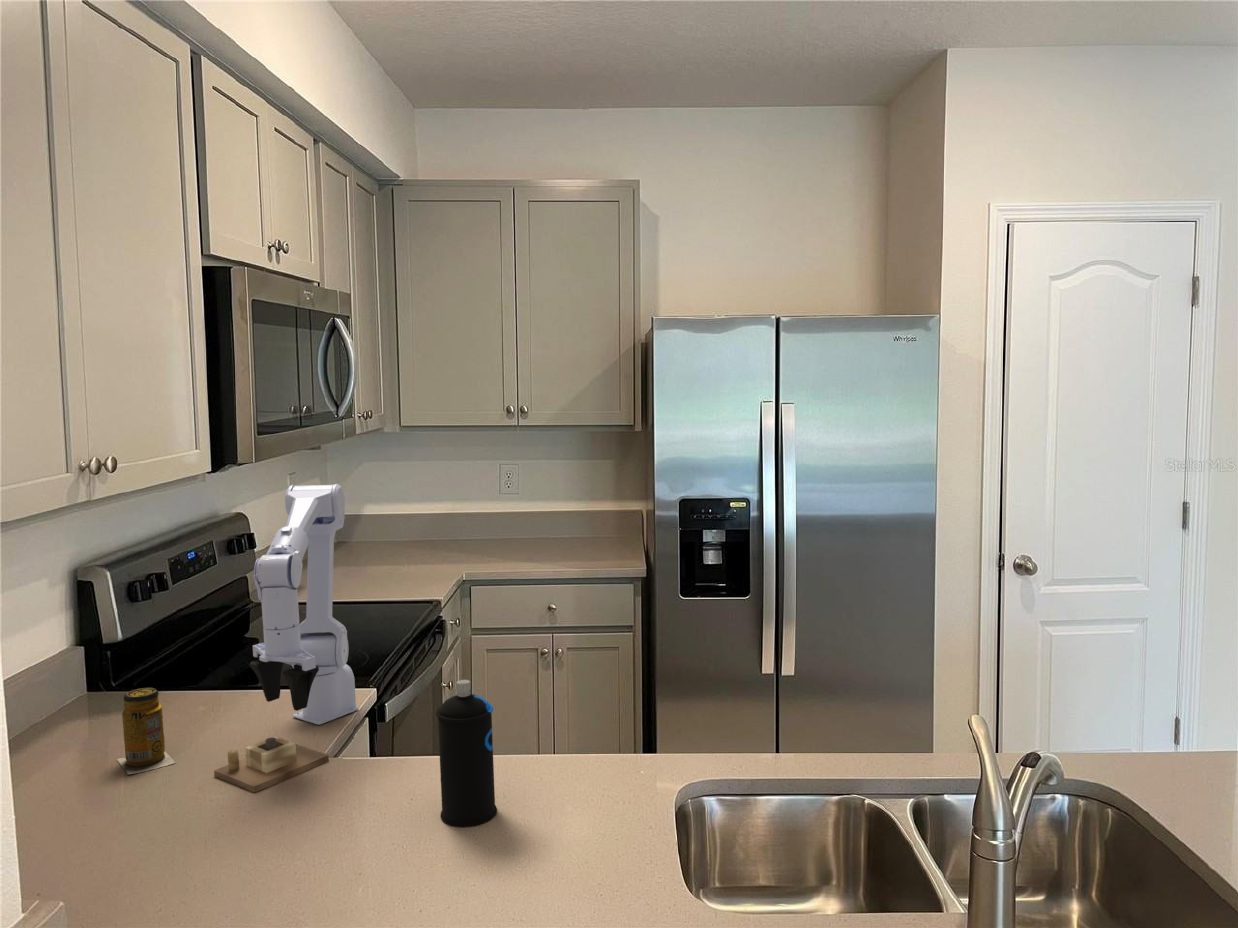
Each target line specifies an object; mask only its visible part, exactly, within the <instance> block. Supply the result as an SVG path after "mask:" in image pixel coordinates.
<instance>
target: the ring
mask: <svg viewBox="0 0 1238 928" xmlns="http://www.w3.org/2000/svg"><path fill="white" fill-rule="evenodd" d="M273 737H274V738H276V748H274V749H272V750H269V751H266V739H265V740H262V741H260V742H257V743H254V744H251V745H249V746H246V747H245V748H244V750H245V758H246V765H247V766H250V767H252V768H255V769H257V770H260V771H263V772H265V773H268V772H271V771H273V770H276V769H278V768H280V767H283V766H285V765H288V764H290V763H293V762H295V761H297V759H296V744H297V743H295V742H293V741H289V740H286V739H284V738H281V737H280V736H279V737H278V736H273Z"/></svg>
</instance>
